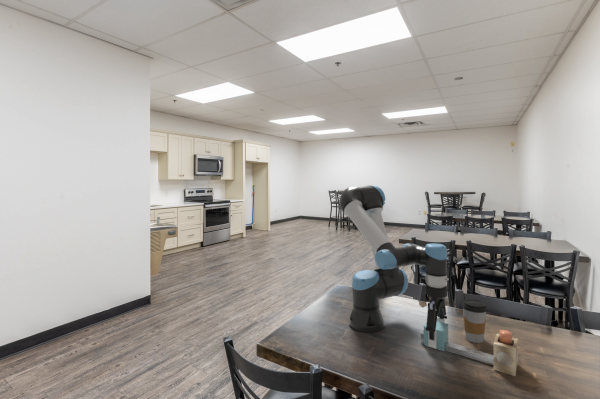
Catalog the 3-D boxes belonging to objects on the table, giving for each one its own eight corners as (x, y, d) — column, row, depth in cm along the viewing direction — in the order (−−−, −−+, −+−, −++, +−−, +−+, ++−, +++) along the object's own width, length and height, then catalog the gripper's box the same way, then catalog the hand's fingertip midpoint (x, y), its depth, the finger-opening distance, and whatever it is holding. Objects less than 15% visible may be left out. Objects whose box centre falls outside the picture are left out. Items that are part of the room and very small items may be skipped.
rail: (421, 342, 118) (421, 333, 118) (423, 339, 121) (423, 330, 120) (499, 367, 102) (499, 355, 101) (500, 363, 104) (500, 351, 104)
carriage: (424, 345, 116) (423, 326, 115) (429, 337, 121) (429, 319, 120) (443, 351, 111) (443, 331, 111) (448, 343, 116) (448, 324, 116)
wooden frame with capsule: (493, 370, 100) (493, 344, 100) (496, 358, 107) (496, 333, 106) (515, 377, 97) (515, 350, 96) (517, 364, 103) (517, 338, 102)
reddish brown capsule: (498, 341, 101) (498, 333, 101) (500, 337, 104) (500, 328, 104) (511, 345, 99) (511, 336, 98) (512, 340, 101) (512, 331, 101)
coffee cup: (490, 345, 114) (490, 307, 114) (466, 344, 116) (466, 306, 115) (481, 334, 123) (481, 298, 122) (459, 333, 124) (459, 298, 123)
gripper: (438, 296, 103) (438, 358, 105) (454, 278, 121) (454, 331, 122) (416, 292, 108) (416, 351, 109) (434, 274, 126) (435, 326, 127)
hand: (436, 340), depth 116 cm, fingers open, 10 cm apart
